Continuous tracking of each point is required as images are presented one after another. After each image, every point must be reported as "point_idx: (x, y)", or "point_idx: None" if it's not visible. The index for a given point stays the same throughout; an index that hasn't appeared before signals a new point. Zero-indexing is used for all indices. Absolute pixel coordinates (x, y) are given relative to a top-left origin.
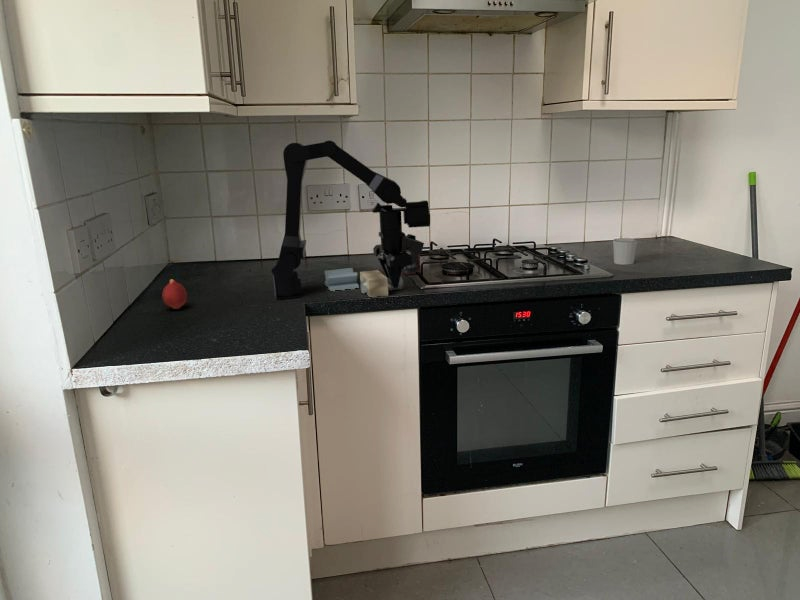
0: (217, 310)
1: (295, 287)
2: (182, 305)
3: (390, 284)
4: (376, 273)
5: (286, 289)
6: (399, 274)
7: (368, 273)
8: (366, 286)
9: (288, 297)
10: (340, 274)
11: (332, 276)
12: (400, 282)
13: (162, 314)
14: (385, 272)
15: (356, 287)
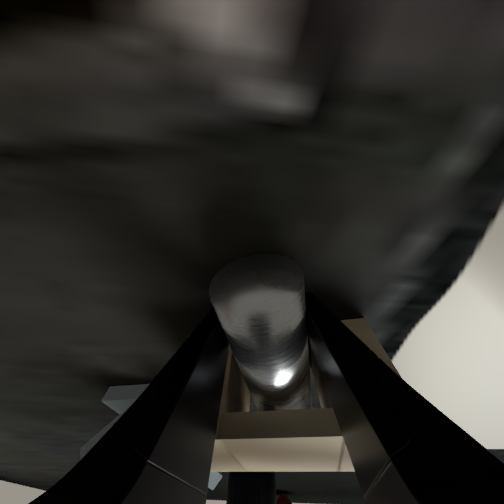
0: (306, 482)
1: (264, 481)
2: (284, 500)
3: (307, 338)
4: (251, 449)
5: (275, 485)
6: (397, 386)
7: (239, 462)
8: (311, 406)
9: None
10: None
11: (214, 480)
12: (304, 296)
13: (298, 495)
14: (217, 419)
15: None
